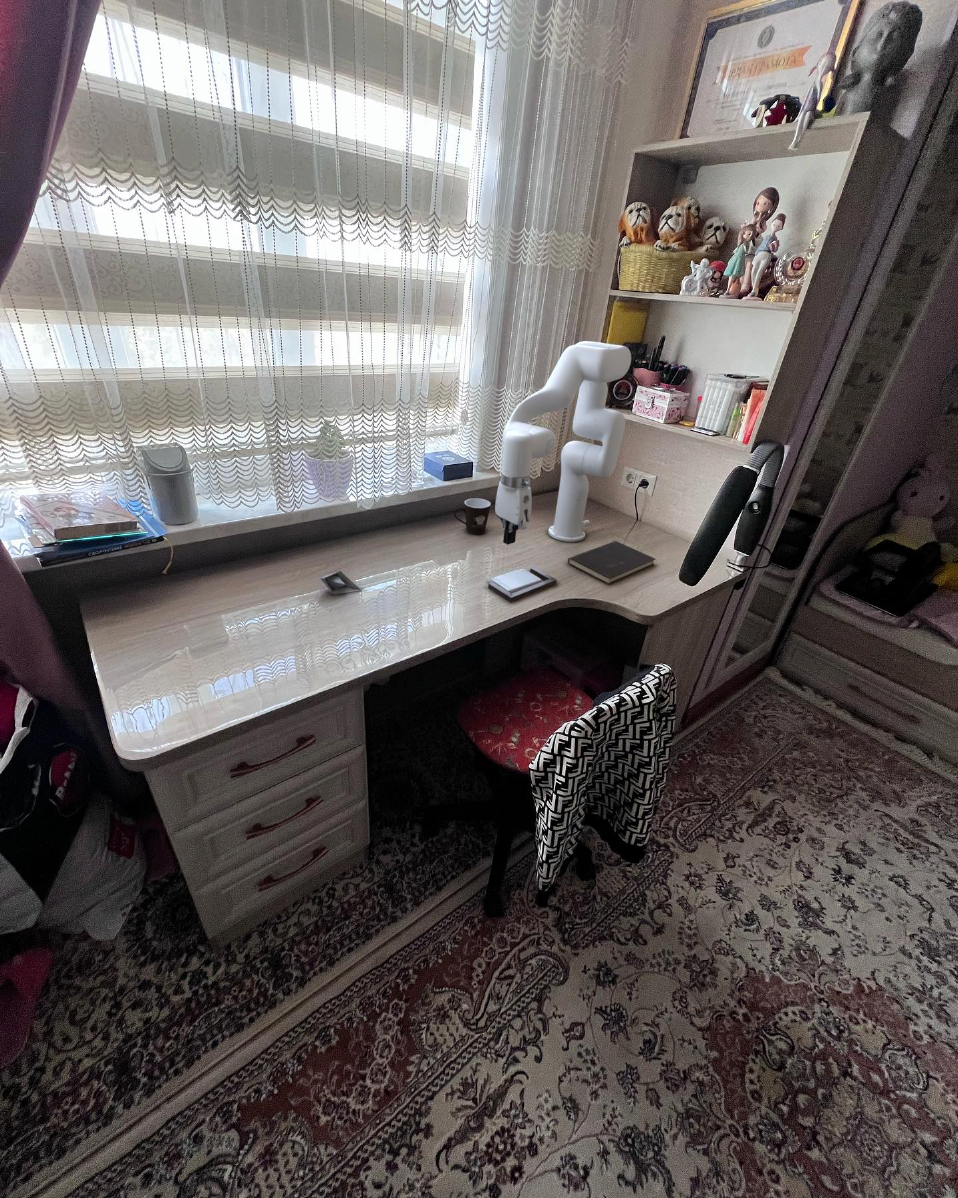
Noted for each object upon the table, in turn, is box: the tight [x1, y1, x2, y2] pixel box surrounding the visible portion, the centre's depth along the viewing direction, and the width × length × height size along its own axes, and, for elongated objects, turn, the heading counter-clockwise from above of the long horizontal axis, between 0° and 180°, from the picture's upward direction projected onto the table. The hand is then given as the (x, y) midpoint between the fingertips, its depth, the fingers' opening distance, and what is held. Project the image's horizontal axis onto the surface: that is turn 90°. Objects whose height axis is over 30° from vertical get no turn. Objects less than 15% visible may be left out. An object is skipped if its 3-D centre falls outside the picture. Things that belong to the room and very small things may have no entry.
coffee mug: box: [453, 497, 492, 536], centre depth 177 cm, size 12×9×10 cm
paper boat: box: [320, 570, 362, 595], centre depth 138 cm, size 12×6×9 cm
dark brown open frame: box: [487, 566, 558, 603], centre depth 149 cm, size 18×9×2 cm, turn 130°
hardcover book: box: [567, 540, 656, 585], centre depth 164 cm, size 16×23×2 cm
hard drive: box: [488, 568, 542, 594], centre depth 150 cm, size 2×8×12 cm
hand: (509, 542), depth 149 cm, fingers closed
